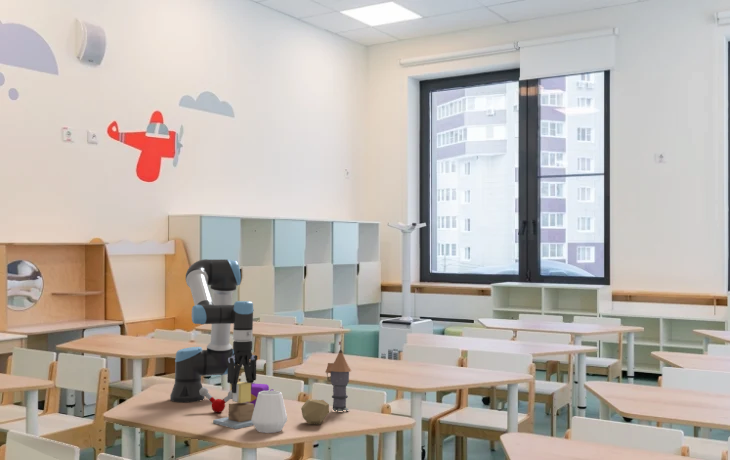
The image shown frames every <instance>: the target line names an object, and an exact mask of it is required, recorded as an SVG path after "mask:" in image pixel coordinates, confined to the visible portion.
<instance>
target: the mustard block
mask: <svg viewBox="0 0 730 460" xmlns="http://www.w3.org/2000/svg"><path fill="white" fill-rule="evenodd" d="M237 384H238V385H239V403H243V402H249V401H251V383H247V381H240V382H237ZM233 403H237V402H236V401H233Z"/></svg>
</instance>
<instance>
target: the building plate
mask: <svg viewBox="0 0 730 460" xmlns="http://www.w3.org/2000/svg"><path fill="white" fill-rule="evenodd" d="M212 422H213V424H217V425H220V426H223V427H227V428H231V429H235V430H237V429H242V428H247V427H251V426H254V424H253V423H252V420H248V421H243V422H237V421H233V420H229V419H228V416H227V417H221V418H215V419H213V420H212Z"/></svg>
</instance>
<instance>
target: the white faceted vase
mask: <svg viewBox="0 0 730 460" xmlns="http://www.w3.org/2000/svg"><path fill="white" fill-rule="evenodd" d="M251 420H252V423H253V424H254V425H253V426H254V428H255V430H256V431H257V432H259V433H264V434H265V433H266V434H273V433H279V432H281V431H282V430H283V428H284V426H285V425H286V423H287V421H288V415H287V409H286V405H285V401H284V397H283V393H282V392H281V391H279V390H274V391H270V390H269V391H261V392H259V393H258V396H257V400H256V404H255V407H254V411H253V415H252V419H251Z"/></svg>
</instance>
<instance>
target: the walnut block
mask: <svg viewBox="0 0 730 460" xmlns="http://www.w3.org/2000/svg"><path fill="white" fill-rule="evenodd" d="M253 411H254V404H252V403H248V402H243V403H239V402H232V403H228V416H227V417H228V419H229V420H233V421H237V422H243V421H248V420H251V419H252V415H253Z"/></svg>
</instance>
